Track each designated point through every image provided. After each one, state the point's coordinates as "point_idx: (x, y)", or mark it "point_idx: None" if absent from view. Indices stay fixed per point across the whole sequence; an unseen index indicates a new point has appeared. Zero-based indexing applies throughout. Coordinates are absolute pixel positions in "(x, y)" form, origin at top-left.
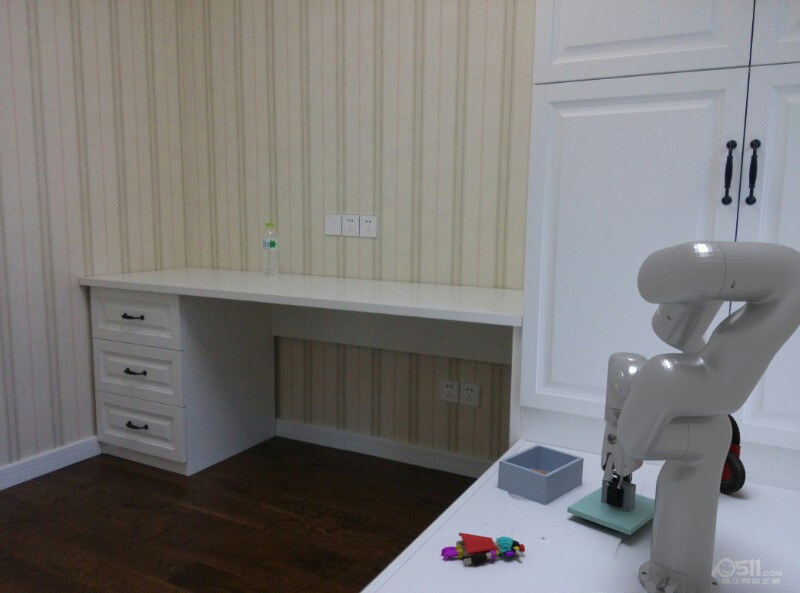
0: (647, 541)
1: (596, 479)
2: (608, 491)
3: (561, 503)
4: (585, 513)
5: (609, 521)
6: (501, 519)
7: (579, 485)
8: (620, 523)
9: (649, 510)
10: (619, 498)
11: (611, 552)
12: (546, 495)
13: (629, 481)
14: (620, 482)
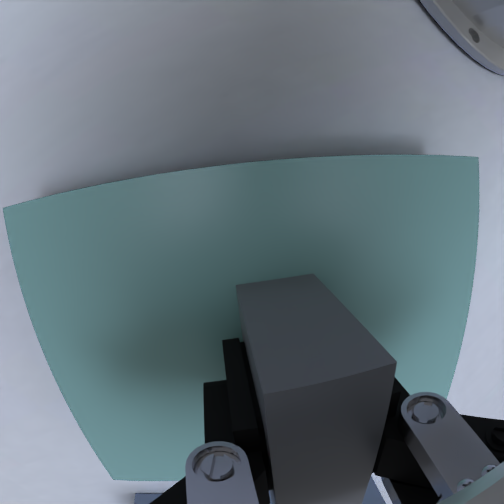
0: (337, 119)
1: (53, 483)
2: None
3: None
4: (455, 362)
5: (468, 265)
6: None
7: (149, 502)
8: (459, 221)
9: (177, 205)
10: None
11: (485, 182)
12: (372, 490)
13: (244, 456)
14: (461, 428)
